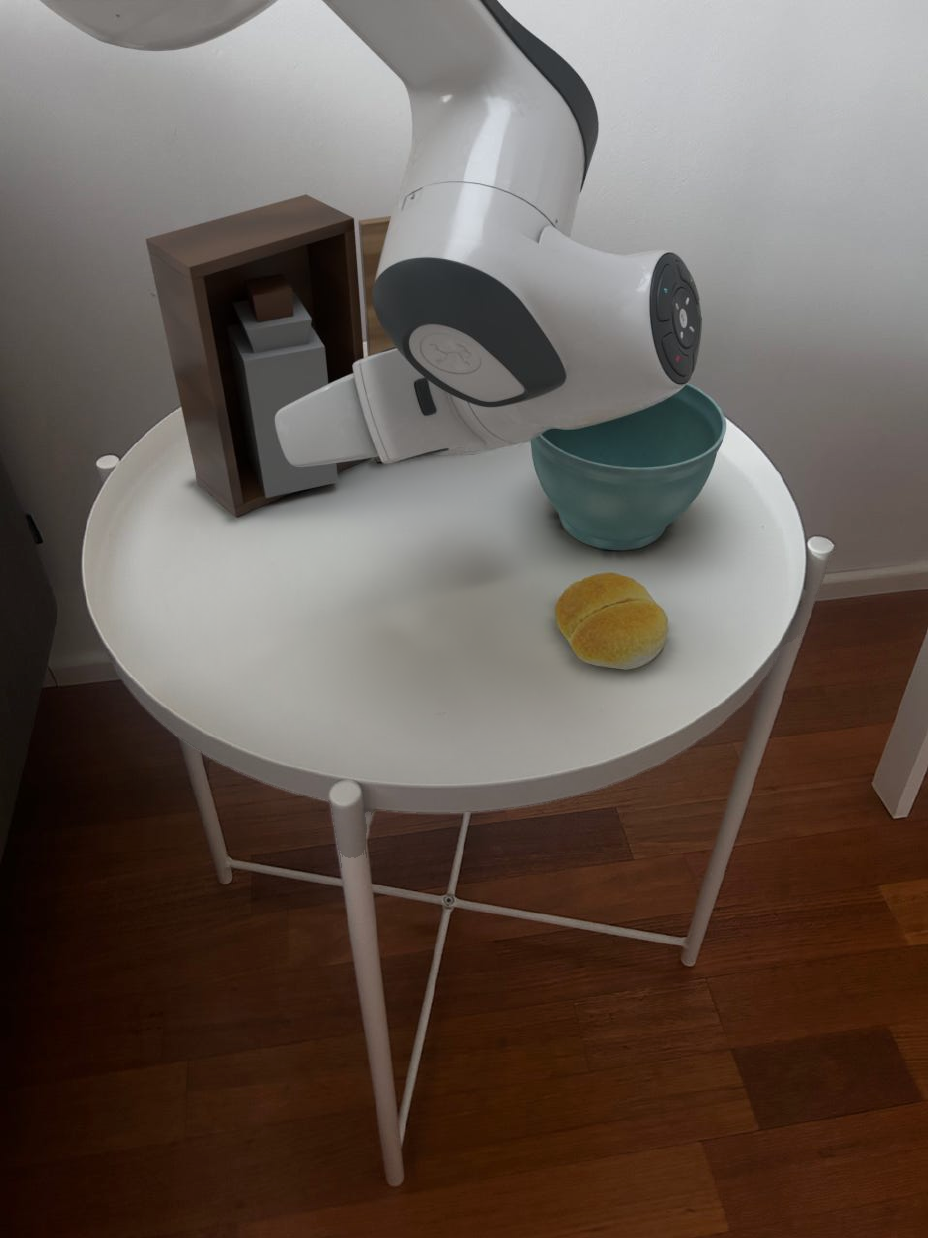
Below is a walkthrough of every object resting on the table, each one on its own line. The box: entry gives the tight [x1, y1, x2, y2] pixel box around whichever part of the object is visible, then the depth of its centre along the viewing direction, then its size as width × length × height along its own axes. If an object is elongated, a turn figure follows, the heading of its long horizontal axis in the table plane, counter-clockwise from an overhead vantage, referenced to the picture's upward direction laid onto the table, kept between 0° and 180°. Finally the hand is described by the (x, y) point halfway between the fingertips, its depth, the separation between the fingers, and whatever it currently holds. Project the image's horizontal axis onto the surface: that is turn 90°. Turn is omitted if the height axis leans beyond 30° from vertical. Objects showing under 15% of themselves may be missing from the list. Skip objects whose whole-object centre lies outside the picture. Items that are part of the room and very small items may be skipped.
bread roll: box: [554, 572, 669, 671], centre depth 78 cm, size 8×9×4 cm
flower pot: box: [529, 382, 727, 551], centre depth 86 cm, size 16×16×11 cm
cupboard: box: [145, 194, 370, 518], centre depth 88 cm, size 7×15×23 cm, turn 130°
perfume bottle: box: [227, 274, 339, 498], centre depth 88 cm, size 7×7×18 cm
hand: (342, 424), depth 75 cm, fingers open, 8 cm apart
